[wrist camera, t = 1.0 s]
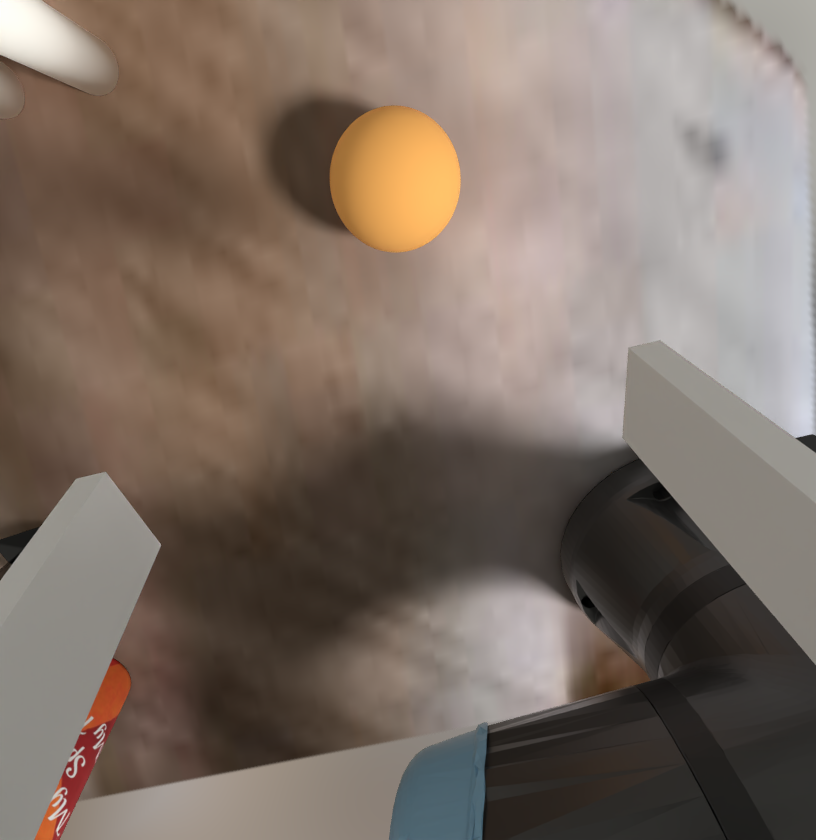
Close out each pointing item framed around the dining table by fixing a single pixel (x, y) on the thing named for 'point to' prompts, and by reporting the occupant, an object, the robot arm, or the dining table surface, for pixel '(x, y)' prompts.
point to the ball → (395, 178)
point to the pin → (10, 93)
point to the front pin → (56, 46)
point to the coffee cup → (86, 750)
